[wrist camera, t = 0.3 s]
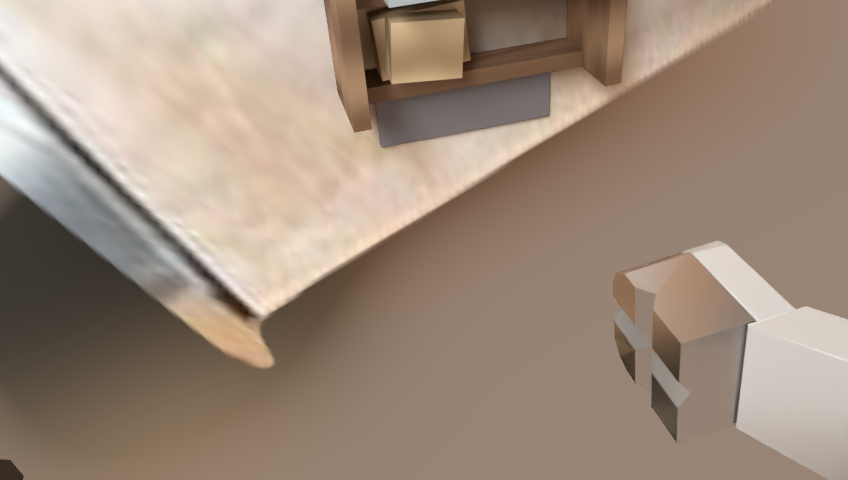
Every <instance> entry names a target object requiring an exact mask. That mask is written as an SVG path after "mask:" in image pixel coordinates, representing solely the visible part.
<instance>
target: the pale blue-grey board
mask: <svg viewBox="0 0 848 480" xmlns="http://www.w3.org/2000/svg"><path fill="white" fill-rule="evenodd" d="M430 1H436V0H384V2H385V3H386V4H387V6H388V7H389V8H392V7H398V6H405V5H411V4H417V3H423V2H430Z"/></svg>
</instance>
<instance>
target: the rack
mask: <svg viewBox="0 0 848 480" xmlns="http://www.w3.org/2000/svg"><path fill="white" fill-rule="evenodd" d="M324 4H325V11H326V17H327V24H328V30H329V37H330V44H331V50H332V57H333V63H334V70H335V77H336V83H337V90H338V94H339V96H340V99H341V101H342V104H343V106H344V108H345V111H346V113H347V116H348V118H349V120H350V123H351V125H352V128H353V130H354V132H360V131H365V130H371V129H372V126H371V118H370V111H369V104H373V103H379V102H384V101H390V100H395V99H401V98H407V97H412V96H418V95H423V94H429V93H434V92H440V91H446V90H451V89H457V88H462V87H468V86H473V85H479V84H485V83H490V82H496V81H501V80H507V79H512V78H518V77H524V76H529V75H535V74H540V73H546V72H551V71H557V70H563V69H568V68H574V67H579V66H582V67H584V68H585V69H586V70H587V71H588V72H589V73H591V74H592V75H593V76H594V77H595V78H596V79H598V80H599V81H600V82H601V83H602V84H603V85H605V86H608V85H614V84H619V83H621V74H622V60H623V47H624V33H625V20H626V7H627V0H568V3H567V36H566V38H561V39H555V40H550V41H544V42H538V43H532V44H526V45H521V46H515V47H509V48H503V49H497V50H492V51H486V52H480V53H474V54H470V59H471V60H470V61H466V62H463V71H462V78H457V79H446V80H434V81H422V82H411V83H399V84H391V82H390V80H386V81H382V79H381V77H380V75H379V73H378V71H377V70H376V71H370V72H364V64H363V56H362V48H361V40H360V33H359V25H358V17H357V10H358V9H364V8H370V7H377V6H383V5H387V4H386V3H385V2H384V0H324Z"/></svg>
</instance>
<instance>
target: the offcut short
mask: <svg viewBox="0 0 848 480" xmlns="http://www.w3.org/2000/svg"><path fill="white" fill-rule="evenodd" d="M464 23H465V18H464V17H463V16H462V15H461V13H460V12H459V11H458V10H457V9H449V10H434V11H418V12H403V13H388V14H385V61H386V75H387V77H388V78H389V80H390V82H391V84H399V83H411V82H422V81H434V80H446V79H457V78H462V71H463V47H464Z"/></svg>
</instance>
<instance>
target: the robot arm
mask: <svg viewBox="0 0 848 480" xmlns="http://www.w3.org/2000/svg"><path fill="white" fill-rule="evenodd" d="M613 296H614V298H615V299H616V300H617V302H618V303H619V304H620V306H621V307H622V308H621V310H620V311H619V313H618V314H617V316H616V317H615V319H614V333H615V341H616V344H617V348H618V351H619V355H620V358H621V360H622V362H623V364H624V366H625V368H626V370H627V371H628V373H629V374H630V376H631V377H632V379H633V380H634V382H635V383H636V384H638V385H640V386H642V387H645V388H647V389H649V390H651V392H652V393H651V394H652V395H651V398H652V399H651V403H652V404H651V405H652V406H651V407H652V408H653V410H654V411H655V413H656V414H657V415H658V417H659V418H660V420H661V421H662V422H663V424H664V425H665V427H666V428H667V430H668V431H669V433H670V434H671V435H672V437H673V438H674V440H675V441H676V442H680V441H684V440H687V439H690V438H694V437H697V436H700V435H704V434H707V433H710V432H713V431H717V430H720V429H723V428H727V427H730V426H733V425H736V428H737V429H739V430H741V431H743V432H744V433H746V434H748V435H750V436H752V437H753V438H755V439H757V440H758V441H760V442H762V443H764V444H766V445H767V446H769V447H771V448H773V449H775V450H776V451H778V452H780V453H782V454H783V455H785V456H787V457H789V458H791V459H792V460H794V461H796V462H798V463H800V464H801V465H803V466H805V467H807V468H809V469H810V470H812V471H814V472H816V473H818V474H819V475H821V476H823V477H825V478H826V479H828V480H848V319H844V318H841V317H838V316H835V315H832V314H829V313H825V312H823V311H819V310H816V309H813V308H810V307H807V306H806V307H802V308H799V309H795V308H794V307H793V306H792V305H791V304H790V303H789V302H787V300H785V299H784V298H783V297H782V296H781V295H780V294H779V293H778V292H777V291H776V290H775V289H774V288H773V287H771V286H770V285H769V284H768V283H767V282H766V281H765V280H764V279H763V278H762V277H761V276H760V275H759V274H758V273H756V272H755V271H754V270H753V269H752V268H751V267H750V266H749V265H748V264H747V263H746V262H745V261H744V260H743V259H741V258H740V257H739V256H738V255H737V254H736V253H735V252H734V251H733V250H732V249H731V248H730V247H729V246H728V245H727V244H725V243H723V242H720V241H714V242H711V243H708V244H705V245H702V246H698V247H695V248H692V249H689V250H686V251H684V252H683V253H678V254H675V255H672V256H668V257H665V258H662V259H659V260H656V261H652V262H649V263H646V264H643V265H639V266H636V267H633V268H630V269H627V270H624V271H620V272H617V273H616V274H615V277H614V280H613ZM23 477H24V476H23V474H22V473H21V472H20V471H19V470H18V468H17V467H16V466H15V465H14V464H13V462H12V461H11V460H6V459H0V480H23Z"/></svg>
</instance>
